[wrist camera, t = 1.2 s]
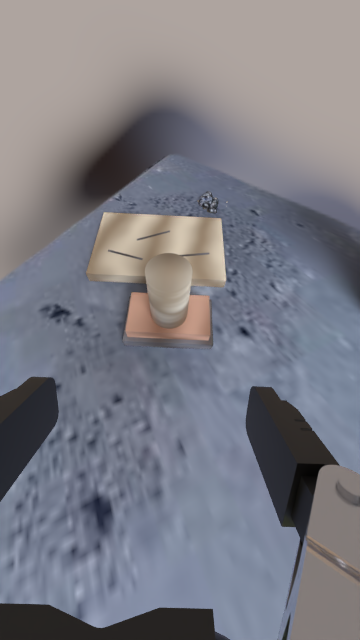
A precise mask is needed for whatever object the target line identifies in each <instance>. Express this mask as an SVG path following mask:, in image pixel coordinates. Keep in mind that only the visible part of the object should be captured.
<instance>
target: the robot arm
mask: <svg viewBox="0 0 360 640" xmlns="http://www.w3.org/2000/svg"><path fill="white" fill-rule="evenodd" d="M58 412H59V410H58V401H57V393H56V385H55V380H54V379H53V378H50V377H31V378H29V379H28V380H27V381H25V382H24V383H23V384H22V385H21V386H19V387H18V388H17V389H14V390H12V391H10V392H8V393H6V394H4V395H2V396H0V501H1V500H2V499H3V497H4V496H5V494H6V493H7V492H8V490H9V489H10V487H11V486H12V485H13V483H14V482H15V481H16V479H17V478H18V476H19V475H20V474H21V472H22V471H23V469H24V468H25V467H26V465H27V464H28V462H29V461H30V460H31V458H32V457H33V456H34V454H35V453H36V451H37V450H38V449H39V447H40V446H41V444H42V443H43V442H44V440H45V439H46V437H47V436H48V435H49V433H50V432H51V431H52V429H53V428H54V426H55V424H56V422H57V419H58ZM246 430H247V435H248V438H249V440H250V443H251V446H252V448H253V451H254V454H255V456H256V459H257V462H258V464H259V467H260V470H261V472H262V475H263V478H264V480H265V483H266V486H267V488H268V491H269V494H270V497H271V499H272V502H273V505H274V507H275V510H276V513H277V515H278V518H279V521H280V523H281V526H282V527H296V529H297V532H298V534H299V536H300V540H299V544H298V548H297V553H296V557H295V562H294V567H293V571H292V576H291V581H290V585H289V590H288V595H287V599H286V604H285V609H284V613H283V618H282V622H281V627H280V631H279V635H278V639H277V640H360V475H359V474H358V473H356V472H354V471H352V470H350V469H348V468H345V467H342V466H340V465H339V464H338V463H337V461H336V460H335V459H334V457H333V456H332V455H331V453H330V452H329V451H328V449H327V448H326V447H325V445H324V444H323V443H322V441H321V440H320V439H319V437H318V436H317V435H316V433H315V432H314V431H312V428H311V427H310V425H309V424H308V423H307V422H306V421H305V419H304V417H303V416H302V415H301V413H300V412H299V411H298V409H296V408H295V407H294V406H292V405H291V404H290V403H288V402H287V401H284V400H280V398H279V397H278V395H277V394H276V392H275V391H274V389H273V388H272V387H255V386H253V387H252V388H251V390H250V395H249V402H248V408H247V415H246ZM0 640H230V639H228V638H227V637H225V636H223V635H221V634H219V633H217V632H215V629H214V618H213V609H190V608H157V609H155V610H152V611H149V612H146V613H144V614H141V615H138V616H135V617H133V618H130V619H127V620H124V621H122V622H119V623H116V624H113V625H111V626H108V627H105V628H96V627H93V626H91V625H89V624H87V623H85V622H83V621H81V620H79V619H77V618H75V617H73V616H71V615H69V614H67V613H65V612H63V611H61V610H59V609H56V608H54V607H52V606H50V605H39V604H2V603H0Z"/></svg>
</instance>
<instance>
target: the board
mask: <svg viewBox="0 0 360 640" xmlns="http://www.w3.org/2000/svg"><path fill="white" fill-rule="evenodd" d="M163 253H174V254H178V255H180V256H182V257H184V258H186V259H187V260H188V261H189V263H190V264H191V266H192V280H191V286H207V287H224V285H225V282H226V272H225V260H224V247H223V235H222V222H221V218H204V217H184V216H165V215H146V214H127V213H108V212H104V214H103V217H102V221H101V224H100V227H99V231H98V234H97V238H96V241H95V244H94V248H93V251H92V255H91V258H90V261H89V265H88V268H87V272H86V275H87V277H88V279H89V281H103V282H124V283H145V284H147V283H146V277H145V267H146V265H147V263H148V262H149V260H150V259H152V258H153V257H155V256H157V255H159V254H163Z"/></svg>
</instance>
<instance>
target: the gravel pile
mask: <svg viewBox="0 0 360 640" xmlns="http://www.w3.org/2000/svg"><path fill="white" fill-rule="evenodd" d="M198 202H199V205H200V206H201V207H203V209H207V212H209V213H217V210H216V208H217V207H218V199H217V198H213V197H212V194H211V192H210V191H208V192H206V194H204V195H203V196H202V197H200V199H199V200H198ZM227 202H228V201H227ZM227 202H226V203H227Z"/></svg>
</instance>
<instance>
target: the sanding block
mask: <svg viewBox="0 0 360 640" xmlns="http://www.w3.org/2000/svg"><path fill="white" fill-rule="evenodd" d="M145 277H146V283H147V290H148V293H137V292H132V293H131V296H130V299H129V305H128V311H127V317H126V323H125V329H124V335H123V343H124V345H125V346H143V347H166V348H189V349H211V348H212V346H213V332H212V306H211V300H209V296H201V295H190V288H191V280H192V266H191V264H190V263H189V261H188V260H187V259H186V258H184V257H182V256H180V255H178V254H174V253H163V254H159V255H157V256H155V257H153V258H152V259H150V260H149V262H148V263H147V265H146V267H145Z"/></svg>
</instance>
